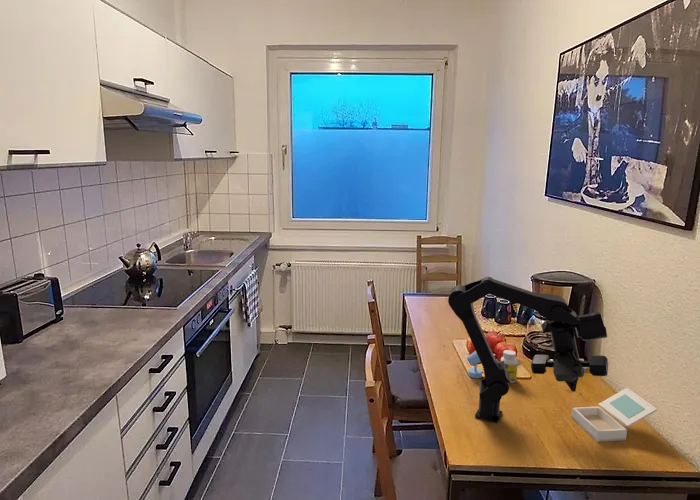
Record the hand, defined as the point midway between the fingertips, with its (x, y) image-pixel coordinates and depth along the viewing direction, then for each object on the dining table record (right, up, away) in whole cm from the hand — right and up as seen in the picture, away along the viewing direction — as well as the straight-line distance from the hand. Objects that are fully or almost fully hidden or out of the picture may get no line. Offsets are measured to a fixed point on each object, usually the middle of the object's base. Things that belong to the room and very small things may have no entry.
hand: (574, 390), depth 131 cm
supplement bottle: (-9, -5, +27) cm, 29 cm away
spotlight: (-19, -4, +30) cm, 36 cm away
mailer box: (+6, -10, -2) cm, 11 cm away
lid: (+13, -3, -2) cm, 14 cm away
